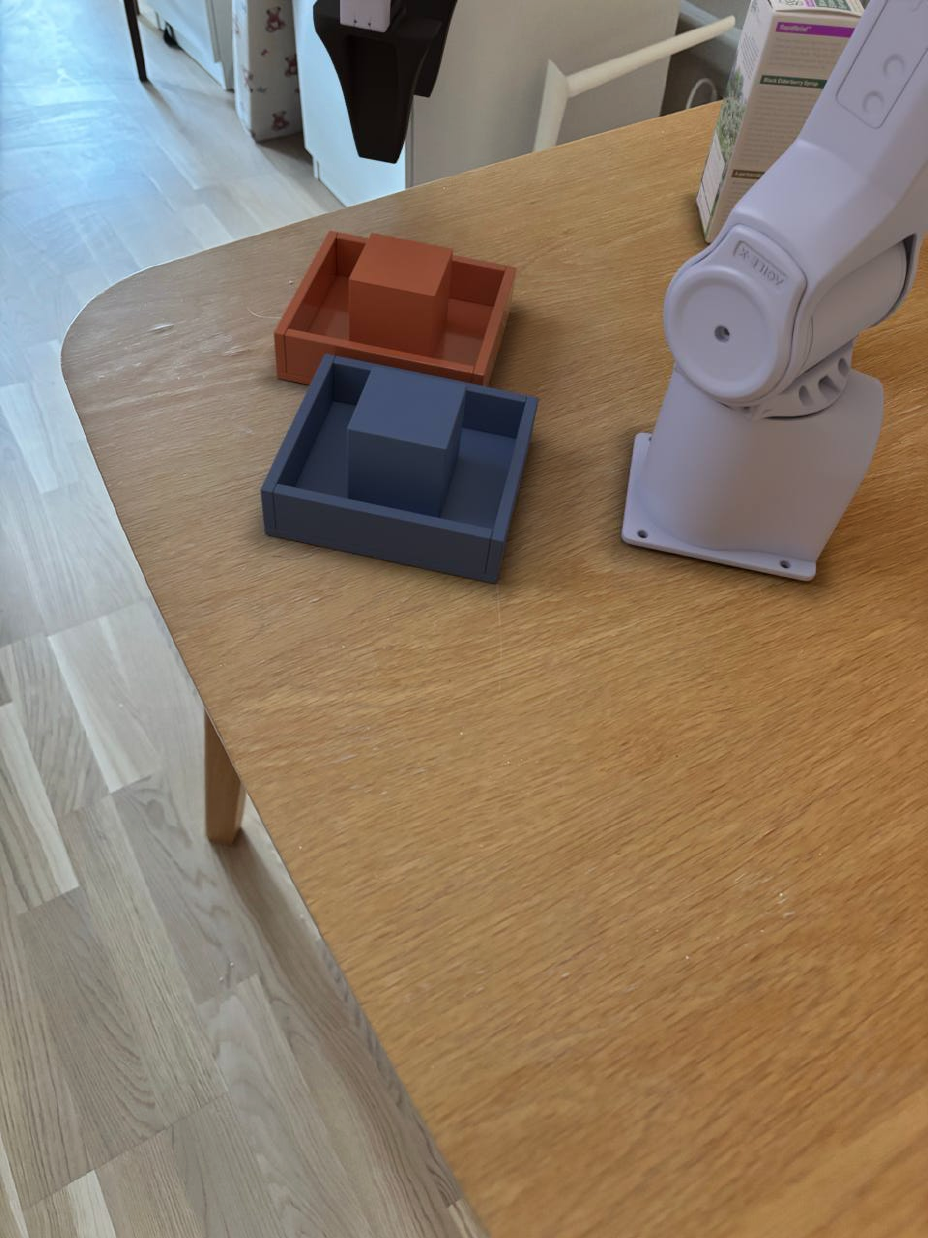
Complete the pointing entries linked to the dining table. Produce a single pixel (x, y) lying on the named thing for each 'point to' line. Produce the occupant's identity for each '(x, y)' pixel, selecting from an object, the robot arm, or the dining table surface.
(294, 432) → the blue bin
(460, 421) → the blue block
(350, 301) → the terracotta block
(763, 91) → the syrup box
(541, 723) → the dining table surface
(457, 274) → the terracotta bin
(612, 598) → the dining table surface
